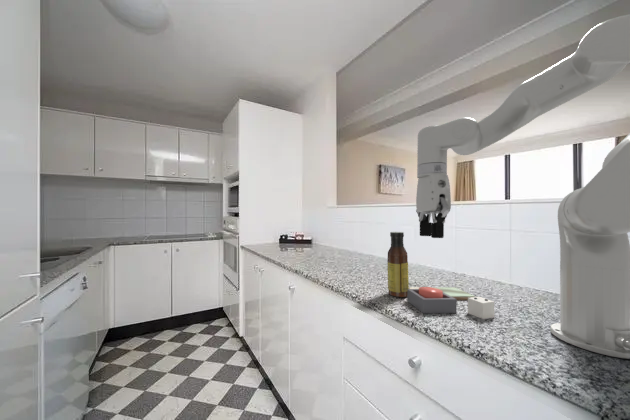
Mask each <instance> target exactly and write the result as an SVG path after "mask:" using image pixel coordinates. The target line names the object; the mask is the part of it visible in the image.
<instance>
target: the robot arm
mask: <svg viewBox="0 0 630 420" xmlns="http://www.w3.org/2000/svg"><path fill="white" fill-rule="evenodd" d="M628 64H630V13H629V14H625V15H620V16H617V17H613V18H610V19H607V20H605V21H603V22H601V23H599V24H597V25H596V26H594V27H593V28H591V29H590V30H588V31H587V32H586V34H584V36H583V37H582V39H581V40H580V42H579V44H578V46H577V48H576V50H575V52H574V53H572V54H571V55H569V56H567V57H566V58H564V59H562V60H560V61H559V62H557V63H555V64H554V65H552V66H550V67H548V68H547V69H545V70H543V71H542V72H540V73H538V74H537V75H535V76H533V77H531V78H529V79H527V80H525V81H524V82H522V83H520V85H518V86H517V87H516V88H514V90H512V91H511V93H510V94H509V95H508V96H507V98H506V99H505V100H504V101H503V102H502V104H501V105H500V106H498V108H496V110H494V111H493V112H492V113H491V114H489V115H488V116H487V117H485V118H483V119H482V120H480V121H477V120H476V119H474V118H471V117H461V118H457V119H454V120H451V121H449V122H446V123H442V124H439V125H428V126H425V127H423V128H422V129H420V130H419V131H418V134H417V150H416V151H417V154H416V155H417V156H416V157H417V166H416V167H417V169H416V171H417V172H416V177H417V184H416V185H417V188H416V196H415V197H416V198H415V199H416V200H415V202H416V203H415V205H416V210H415V211H416V212H415V213H417V216H418V222H419V236H420V237H431V238H433V239H443V238H444V236H445V235H444V233H445V230H444V229H445V228H444V226H445V223H446V218H447V217H448V214H449V213H450V211H451V210H452V209H451V207H452V200H451V198H452V194H451V185H450V184H451V183H450V179H449V175H448V151H449V149H451V150H452V151H453V152H454V153H455V154H457V155H460V156H468V155H472V154H474V153H477V152H479V151H482V150H483V149H485V148H487V147H489V146H492V145H494V144H496V143H497V142H500V141H502V140H503V139H505V138H507V137H508V136H510V135H512V134H513V133H514V132H516V131H517V130H520V129H521V128H523V127H525V126H527V124H530V122H532V121H533V120H535V119H536V118H539V117H540V116H542V115H544V114H546V113H548V112H550V111H552V110H554V109H556V108H558V107H559V106H561V105H564V104H566V103H568V102H570V101H572V100H574V99H576V98H578V97H579V96H581V95H584V94H586V93H588V92H589V91H592V90H593V89H595V88H597V87H599V86H601V85H603V84H605V83H607V82H609V81H610V80H612V79H613V78H615V77H616V76H618V74H620V73H621V72H622V71H623V70H624V69H625V68H626V67H627V65H628ZM431 218H432V222H431ZM557 223H558V224H557V225H558V232H559V233H558V235H559V249H560V250H559V255H560V257H559V259H560V260H559V280H560V281H559V295H560V296H559V305H560V306H559V307H560V308H559V321H560V322H557V323H552V324H550V329H549V330H550V332H551V334H552V335H553V336H555V337H556V338H557V339H559V340H561V341H563V342H565V343H568V344H569V345H573V346H575V347H576V348H577V347H578V348H580V349H582V350H583V349H584V350H586V351H590V352H592V353H596V354H600V355H604V356H605V355H606V356H608V357H613V358H619V359H627V360H630V239H629V235H628V233H630V132H629V133H628V134H627V135H626V136H625V137H624V138H623V139H622V140H621V141H620V142H619V143H618V144H617V145H616V146H614V147H613V148H612V149H611V150H610V151H609V152H608V154H607V155H606V156H605V158H604V160H603V162H602V167H601V169H600V170H599V171H598V172H597V173H596V174H595V175H594V176H593V177H592V178H591V180H590V181H588V183H587V184H586V185H584V187H580V188H577V189H575V190H572V191H571V192H569V193H568V194H567V195H565V196H564V198H562V200H561V201H560V203H559V206H558V209H557Z"/></svg>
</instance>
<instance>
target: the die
mask: <svg viewBox="0 0 630 420" xmlns="http://www.w3.org/2000/svg"><path fill="white" fill-rule="evenodd" d="M467 313H468V314H470V315H472V316H474V317H476V318H479V319H482V320H486V319H493V318H495V301H494V300H491V299H487V298H485V297H481V296H476V297H471V298H468V300H467Z"/></svg>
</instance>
